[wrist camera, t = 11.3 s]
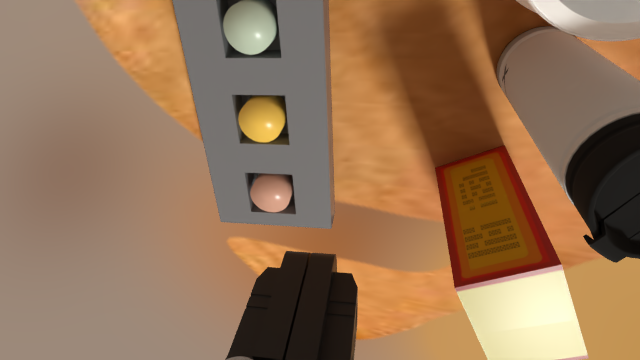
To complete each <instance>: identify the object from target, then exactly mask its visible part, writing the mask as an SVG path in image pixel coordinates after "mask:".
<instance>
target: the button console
mask: <svg viewBox="0 0 640 360" xmlns="http://www.w3.org/2000/svg"><path fill="white" fill-rule="evenodd" d="M172 1H173V5H174V10H175V14H176V19H177V24H178V28H179V33H180V37H181V42H182V47H183V51H184V56H185V60H186V65H187V69H188V74H189V79H190V83H191V88H192V92H193V97H194V101H195V106H196V111H197V115H198V120H199V124H200V129H201V133H202V138H203V143H204V147H205V152H206V156H207V161H208V165H209V170H210V175H211V179H212V183H213V188H214V193H215V197H216V202H217V206H218V211H219V216H220V220H221V222H231V223H247V224H264V225H280V226H297V227H312V228H328V229H331V228H332V223H333V218H334V213H335V200H334V167H333V133H332V100H331V67H330V34H329V1H328V0H268V1H269V2H270V3H272V5H273V6H274V7H275V8H276V10H277V15H278V26H279V33H278V35H277V37H276V38H275V40H274V41H273V42H272V43H271V44H270V45H269V46H268V47H267V48H266V49H265V50H264V51H262V52H261V53H258V54H253V55H249V54H244V53H241V52H239V51H238V50H236V49H235V48H234V47H233V46H232V45H231V44H230V43H229V42H228V40H227V38H226V36H225V33H224V28H223V22H224V17H225V14H226V12H227V11H228V9H229V8H230V7H231V6H233V5H234V4H236V3H238V2H240V1H241V0H172ZM252 95H279V96H280V97H281V98H282V99H283V100H284V101H285V103H286V111H287V121H286V123H285V125H284V127H283V129H282V130H281V132H280V134H279V136H278V137H277V138H276V139H274V140H272V141H270V142H257V141H254V140H252V139H250V138H249V137H247V136H246V135H245V134H244V133H243V131H242V130H241V128H240V125H239V120H238V117H239V113H240V110H241V109H242V107H243V106H244V105H245V104H246V102H247V101H248V100H249V98H250V97H251V96H252ZM259 173H267V174H290V175H292V176H293V186H294V190H293V193H292V196H291V198H290V201H289V204H288V206H287V207H286V208H285V209H284V210H282V211H279V212H267V211H264V210H262V209H260V208H259V207H257V206H256V205H255V204H254V202H253V201H252V198H251V194H250V191H251V188H252V186H253V184H254V182H255V180H256V178H257V176H258V174H259Z"/></svg>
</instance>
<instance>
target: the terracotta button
mask: <svg viewBox="0 0 640 360" xmlns="http://www.w3.org/2000/svg"><path fill="white" fill-rule="evenodd" d="M293 190H294V186H293V176H292V175H290V174H267V173H259V174H258V176H257V178H256V180H255V182H254V184H253V186H252V188H251V191H250V194H251V198H252V201H253V202H254V204H255V205H256V206H257V207H259V208H260V209H262V210H264V211H267V212H279V211H282V210H284V209H285V208H286V207H287V206H288V204H289V201H290V198H291V196H292V193H293Z"/></svg>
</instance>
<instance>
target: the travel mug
mask: <svg viewBox="0 0 640 360" xmlns="http://www.w3.org/2000/svg"><path fill="white" fill-rule="evenodd" d="M497 80H498V83H499V85H500V87H501V89H502V90H503V92H504V94H505V95H506V97H507V98H508V100H509V102H510V103H511V105H512V107H513V108H514V110H515V111H516V113H517V115H518V116H519V118H520V120H521V121H522V123H523V124H524V126H525V128H526V129H527V131H528V133H529V134H530V136H531V137H532V139H533V141H534V142H535V144H536V146H537V147H538V149H539V151H540V152H541V154H542V155H543V157H544V159H545V160H546V162H547V164H548V165H549V167H550V168H551V170H552V172H553V173H554V175H555V177H556V178H557V180H558V181H559V183H560V185H561V186H562V188H563V189H564V191H565V193H566V194H567V196H568V198H569V199H570V201H571V202H572V203H573V204H574V205H575V207H576V208H577V210H578V212H579V213H580V215H581V216H582V218H583V219H584V221H585V223H586V224H587V226H588V227H589V229H590V231H591V233H592V236H593V238H594V240H593V239H592V238H591V237H589V236H588V235H585V236H583V237H584V238H585V240H586V242H587V243H588V244H589V245H590V247H591V248H593V249H594V250H595V251H596V252H598V253H599V254H601V255H602V256H604V257H605V258H607V259H609V260H611V261H613V262H618V261H620V260H622V259H623V258H625V257H630V258H639V259H640V81H639V80H637V79H636V78H634V77H633V76H632V75H630V74H629V73H627V72H626V71H624V70H623V69H621V68H620V67H618V66H617V65H615V64H614V63H612V62H611V61H609V60H608V59H607V58H605V57H604V56H602V55H601V54H599V53H598V52H596V51H595V50H593V49H592V48H590V47H589V46H587V45H586V44H584V43H583V42H582V41H580V40H579V39H577V38H576V37H574V36H573V35H571V34H569V33H566V32H564V31H562V30H560V29H558V28H556V27H550V26H546V27H538V28H534V29H531V30H528V31H526V32H524V33H522V34H521V35H519V36H517V37H516V38H515V39H514V40H513V41H511V42H510V43H509V44H508V46H507V47H506V48H505V49H504V51H503V53H502V55H501V56H500V59H499V62H498V65H497Z"/></svg>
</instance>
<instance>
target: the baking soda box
mask: <svg viewBox="0 0 640 360" xmlns="http://www.w3.org/2000/svg"><path fill="white" fill-rule="evenodd" d="M435 169H436V175H437V181H438V188H439V194H440V200H441V206H442V212H443V218H444V224H445V231H446V237H447V243H448V249H449V255H450V261H451V268H452V274H453V280H454V286H455V289H456V292H457V294H458V296H459V298H460V300H461V302H462V305H463V307H464V309H465V311H466V313H467V315H468V317H469V320H470V322H471V324H472V326H473V328H474V330H475V333H476V335H477V337H478V339H479V341H480V343H481V346H482V348H483V350H484V352H485V354H486V356H487V359H488V360H579V359H586V358H588V355H587V351H586V348H585V344H584V341H583V337H582V334H581V330H580V327H579V323H578V320H577V317H576V313H575V309H574V306H573V303H572V299H571V296H570V292H569V289H568V285H567V282H566V278H565V275H564V271H563V268H562V265H561V262H560V260H559V258H558V256H557V254H556V252H555V250H554V248H553V246H552V244H551V242H550V239H549V237H548V235H547V233H546V231H545V229H544V227H543V225H542V223H541V221H540V219H539V216H538V214H537V212H536V210H535V208H534V206H533V204H532V202H531V200H530V198H529V196H528V193H527V191H526V189H525V187H524V185H523V183H522V181H521V179H520V177H519V175H518V173H517V170H516V168H515V166H514V164H513V162H512V160H511V158H510V156H509V154H508V152H507V149H506V147H505V145H504V146H501V147H498V148H495V149H492V150H489V151H486V152H483V153H479V154H476V155H473V156H470V157H467V158H464V159H461V160H458V161H455V162H452V163H449V164H446V165H443V166H440V167H437V168H435Z"/></svg>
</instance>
